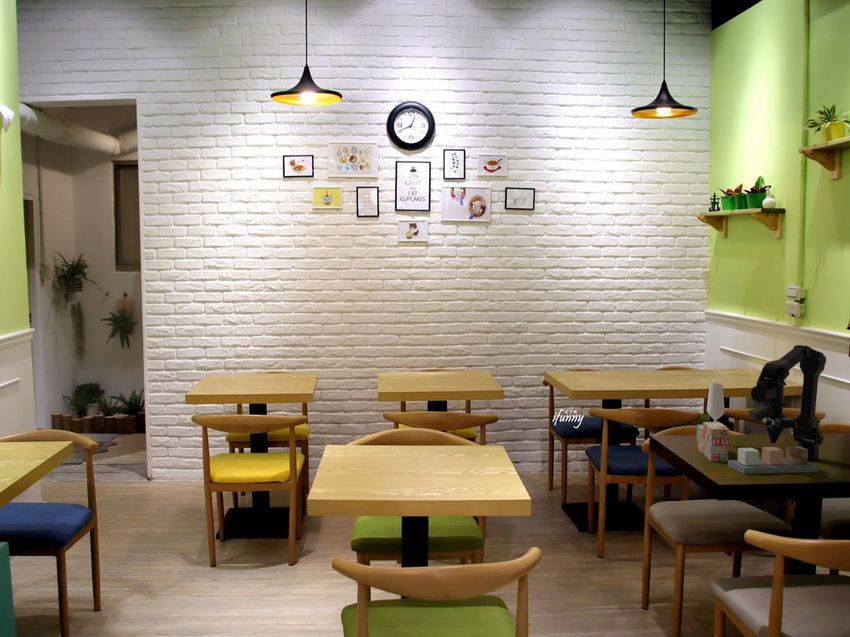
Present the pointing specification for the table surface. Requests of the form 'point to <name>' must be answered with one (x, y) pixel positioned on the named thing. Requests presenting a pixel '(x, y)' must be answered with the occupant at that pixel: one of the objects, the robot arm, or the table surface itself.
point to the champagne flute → (715, 401)
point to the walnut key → (796, 455)
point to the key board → (772, 467)
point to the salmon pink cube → (772, 455)
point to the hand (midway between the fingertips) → (773, 443)
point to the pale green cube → (748, 456)
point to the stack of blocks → (713, 441)
